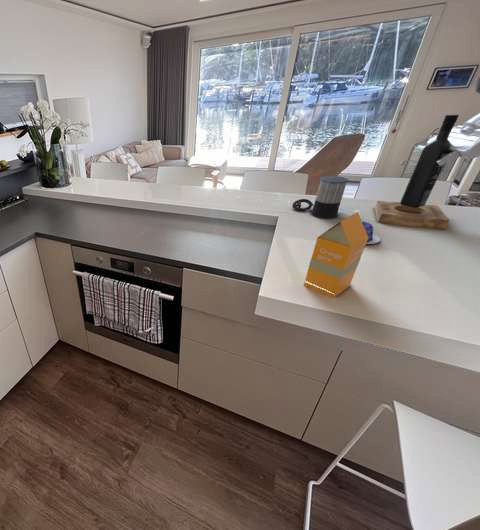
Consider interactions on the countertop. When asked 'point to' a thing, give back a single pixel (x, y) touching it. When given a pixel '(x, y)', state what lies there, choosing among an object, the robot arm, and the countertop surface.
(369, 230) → the pudding
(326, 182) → the milk frother
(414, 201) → the wine bottle
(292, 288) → the countertop surface
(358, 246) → the orange juice
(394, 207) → the bottle stand
